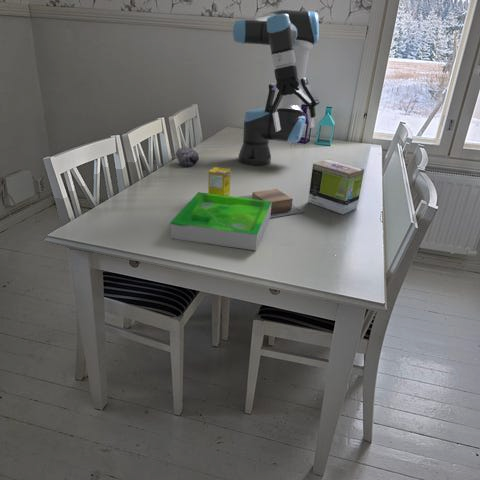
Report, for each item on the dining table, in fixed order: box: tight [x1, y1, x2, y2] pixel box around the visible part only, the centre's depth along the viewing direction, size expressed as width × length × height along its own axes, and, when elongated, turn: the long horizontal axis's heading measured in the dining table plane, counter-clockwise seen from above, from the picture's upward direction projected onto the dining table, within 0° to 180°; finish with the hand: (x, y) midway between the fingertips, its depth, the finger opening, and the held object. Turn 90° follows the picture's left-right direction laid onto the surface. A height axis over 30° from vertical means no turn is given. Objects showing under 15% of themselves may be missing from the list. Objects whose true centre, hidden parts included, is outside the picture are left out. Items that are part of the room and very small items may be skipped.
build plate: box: [240, 188, 304, 220], centre depth 146 cm, size 20×16×4 cm
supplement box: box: [207, 166, 231, 196], centre depth 147 cm, size 6×6×11 cm
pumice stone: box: [175, 146, 200, 168], centre depth 183 cm, size 10×8×10 cm
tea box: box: [308, 159, 365, 215], centre depth 147 cm, size 15×10×15 cm, turn 45°
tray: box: [170, 191, 272, 251], centre depth 128 cm, size 25×25×5 cm
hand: (294, 129), depth 149 cm, fingers open, 13 cm apart
